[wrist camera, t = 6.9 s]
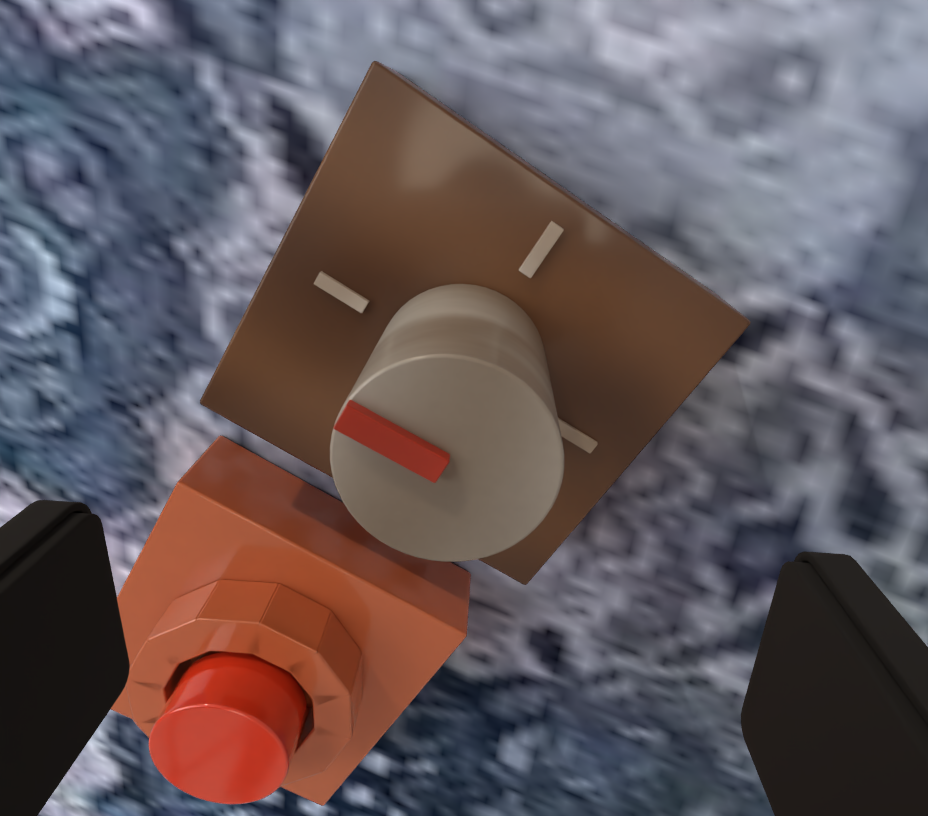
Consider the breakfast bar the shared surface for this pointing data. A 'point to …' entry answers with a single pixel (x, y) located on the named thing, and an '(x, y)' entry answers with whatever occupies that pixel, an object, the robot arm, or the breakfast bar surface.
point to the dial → (451, 429)
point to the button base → (287, 607)
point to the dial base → (476, 263)
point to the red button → (229, 728)
